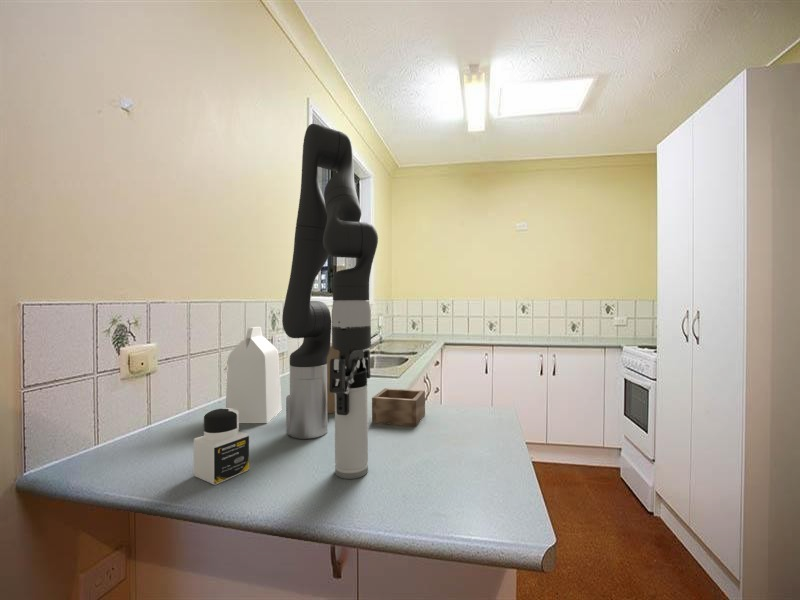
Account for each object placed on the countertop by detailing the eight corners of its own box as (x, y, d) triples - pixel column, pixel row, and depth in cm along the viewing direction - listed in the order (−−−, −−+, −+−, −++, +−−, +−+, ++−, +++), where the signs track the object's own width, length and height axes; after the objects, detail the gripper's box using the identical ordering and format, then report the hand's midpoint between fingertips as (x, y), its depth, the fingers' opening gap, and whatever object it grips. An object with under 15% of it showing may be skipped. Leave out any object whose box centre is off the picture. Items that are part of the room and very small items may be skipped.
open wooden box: (372, 422, 99) (371, 397, 99) (384, 410, 110) (384, 388, 110) (416, 426, 95) (416, 400, 96) (425, 413, 106) (424, 390, 106)
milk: (266, 423, 99) (266, 328, 99) (224, 423, 99) (224, 328, 99) (281, 410, 111) (281, 325, 111) (244, 411, 111) (244, 326, 111)
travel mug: (374, 467, 71) (373, 365, 72) (357, 482, 66) (356, 371, 66) (347, 461, 74) (347, 363, 74) (328, 475, 68) (327, 369, 68)
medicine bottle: (214, 486, 65) (214, 418, 65) (192, 476, 68) (192, 412, 69) (249, 470, 71) (249, 408, 71) (228, 462, 74) (227, 403, 75)
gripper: (348, 322, 78) (348, 397, 78) (316, 326, 64) (316, 417, 64) (381, 322, 76) (382, 399, 76) (355, 326, 62) (356, 420, 62)
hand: (352, 408), depth 70 cm, fingers open, 8 cm apart
